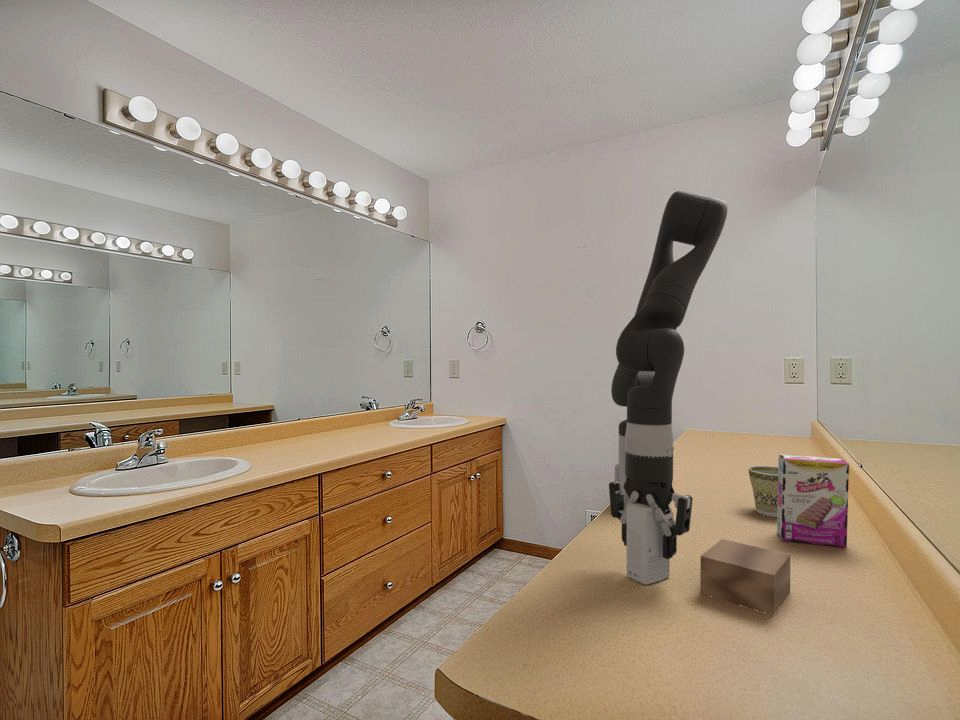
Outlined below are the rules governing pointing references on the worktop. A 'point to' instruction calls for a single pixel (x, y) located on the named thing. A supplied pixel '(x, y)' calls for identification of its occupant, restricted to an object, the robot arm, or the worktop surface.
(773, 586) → the walnut block
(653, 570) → the skincare box
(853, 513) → the worktop surface
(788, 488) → the candy bar box
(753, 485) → the ceramic cup
